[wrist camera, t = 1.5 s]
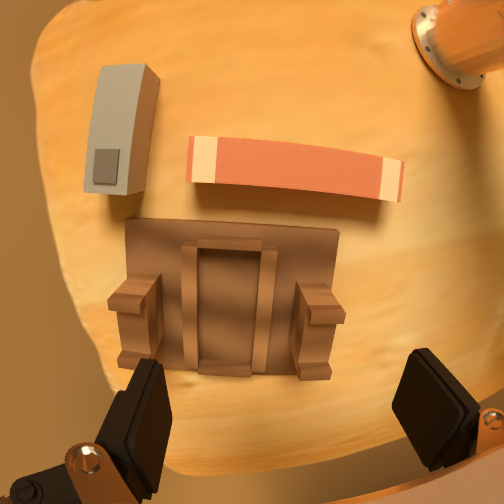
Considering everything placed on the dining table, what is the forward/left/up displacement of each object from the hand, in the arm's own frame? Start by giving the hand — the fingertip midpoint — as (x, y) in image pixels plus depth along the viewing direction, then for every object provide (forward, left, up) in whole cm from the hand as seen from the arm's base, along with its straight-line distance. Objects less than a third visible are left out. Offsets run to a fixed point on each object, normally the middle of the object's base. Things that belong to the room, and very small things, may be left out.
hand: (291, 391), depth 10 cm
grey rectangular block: (-11, -14, -22) cm, 28 cm away
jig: (+7, -3, -22) cm, 23 cm away
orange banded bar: (-8, +3, -22) cm, 24 cm away
